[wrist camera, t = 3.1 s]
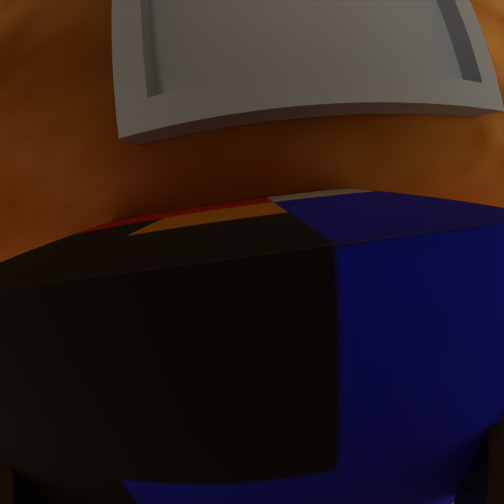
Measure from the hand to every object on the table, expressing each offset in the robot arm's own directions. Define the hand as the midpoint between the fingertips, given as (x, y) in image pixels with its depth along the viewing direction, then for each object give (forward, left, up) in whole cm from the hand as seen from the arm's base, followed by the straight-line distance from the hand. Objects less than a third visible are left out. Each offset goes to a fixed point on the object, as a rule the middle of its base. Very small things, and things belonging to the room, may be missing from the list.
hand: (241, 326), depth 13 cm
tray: (-16, +5, -1) cm, 17 cm away
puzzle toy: (0, 0, -1) cm, 1 cm away
